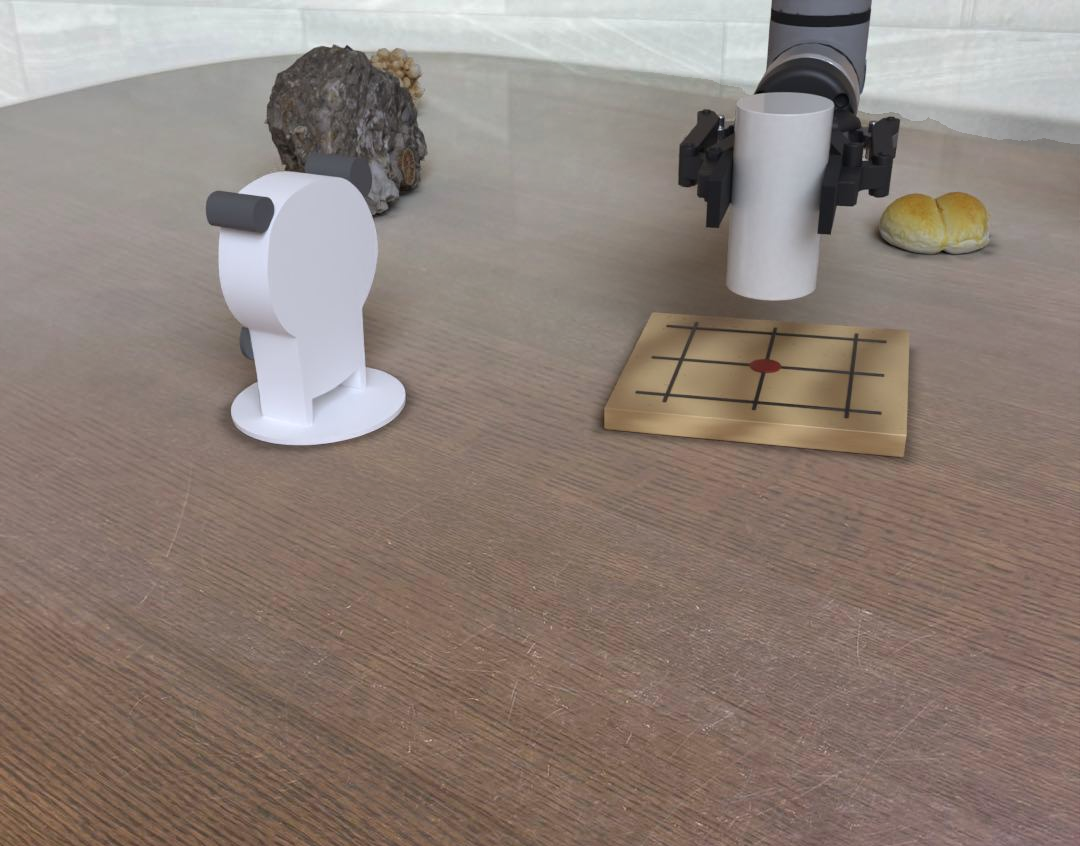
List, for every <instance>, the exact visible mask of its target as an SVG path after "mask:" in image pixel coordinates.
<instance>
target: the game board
mask: <svg viewBox="0 0 1080 846" xmlns="http://www.w3.org/2000/svg"><path fill="white" fill-rule="evenodd" d="M910 337H911V330H907V329H906V330H905V329H893V328H882V327H881V328H880V327H866V326H853V325H837V324H826V323H825V324H823V323H821V324H820V323H812V322H811V323H810V322H795V321H783V320H782V321H779V320H769V319H768V320H767V319H752V318H738V317H724V316H711V315H697V314H695V315H694V314H682V313H681V314H680V313H669V312H667V313H666V312H655V311H654V312H651V313H650V316H649V318H648V319H647V322H646V324H645V325H644V328H643V329H642V332H641V334H640V336H639V337H638V338H639V339H638V340H637V341H636V343H635V345H634V347H633V350H632V352H631V354H630V355H629V358H628V360H627V361H626V364H625V366H624V368H623V370H622V372H621V374H620V375H619V378H618V380H617V382H616V384H615V387H614V388H613V390H612V392H611V394H610V396H609V398H608V400H607V401H606V404H605V405H604V407H603V412H604V413H603V428H604V430H609V431H619V432H631V433H639V434H641V433H642V434H652V435H660V436H661V435H662V436H673V437H682V438H693V439H694V438H695V439H705V440H714V441H715V440H716V441H726V442H737V443H746V444H758V445H766V446H767V445H768V446H769V445H770V446H778V447H789V448H800V449H809V450H821V451H831V452H840V453H841V452H842V453H853V454H862V455H874V456H884V457H885V456H886V457H893V458H895V457H896V458H904V456H905V450H906V443H907V437H908V408H909V407H908V405H909V374H910V373H909V372H910V371H909V370H910V368H909V366H910V342H911V341H910V340H911V339H910Z"/></svg>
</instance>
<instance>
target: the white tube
mask: <svg viewBox="0 0 1080 846" xmlns="http://www.w3.org/2000/svg"><path fill="white" fill-rule="evenodd" d="M833 113H834V103H833V101H831V100H830V99H827V98H825V97H822V96H818V95H812V94H805V93H792V92H774V93H762V94H755V95H753V94H750V95H747V96H743V97H741V98H739V99H737V100H736V103H735V114H734V116H735V117H734V121H735V129H734V147H733V165H732V183H731V200H730V204H729V216H728V217H729V219H728V220H729V221H728V236H727V237H728V239H727V256H726V271H725V272H726V273H725V285H726V287H727V289H728V290H729V291H731V292H732V293H733V294H736V295H738V296H741V297H743V298H747V299H752V300H757V301H758V300H759V301H771V302H773V301H774V302H777V301H790V300H797V299H801V298H804V297H806V296H809V295H811V294H812V293H813V292H814V291H815V290H816V289H817V283H818V272H819V264H820V263H819V262H820V252H821V242H822V234H817V231H818V221H819V211H820V201H821V191H822V184H823V180H824V176H825V172H826V168H827V164H828V161H829V153H830V143H831V133H832V123H833Z"/></svg>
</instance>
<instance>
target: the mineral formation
mask: <svg viewBox="0 0 1080 846" xmlns="http://www.w3.org/2000/svg"><path fill="white" fill-rule="evenodd" d="M369 62H370V63H371V64H372V65H373V66H375V67H376V69H377V70H386V71H388V72H391V73H393V75H394V76H395V77H398V78H399V81H400V87H407V89H408V91H409V92H410V94H411V96H412V100H413V104H414V105H415V107H416V110H417V111H418V107H419V103H420V101H419V100H420V99H421V98H422V97H423V96H424V93H425V92H426V88H425V85H422V84H421V83H420V82H419V78H422V77H423V73H424V72H423V71H422V69H421V66H420V65H419V61H418V59H417V58H416V57H410V56H408V54H407V51H406V50H405V49H404V48H399V47H395V49H392V51H391V52H390V50H389V49H387V48H385V47H384V48H383V47H382V48H378V50H377V51H376V54H373V53H371V57H370V59H369Z"/></svg>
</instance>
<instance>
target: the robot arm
mask: <svg viewBox="0 0 1080 846" xmlns="http://www.w3.org/2000/svg"><path fill="white" fill-rule="evenodd" d="M872 4H873V0H771V6H770V18H769V25H768V43H767V55H766V66H765V72H764V74H763V75H762V77H761V79H760V81H759V82H758V84H757V86H756V89H755V91H754V93H753V94H752V95H755V94H762V93H774V92H792V93H805V94H812V95H818V96H822V97H825V98H827V99H830V100H831V101H833V103H834V113H833V123H832V133H831V143H830V153H829V161H828V164H827V168H826V172H825V176H824V180H823V184H822V191H821V201H820V211H819V221H818V231H817V234H821V235H829V236H831V235H832V231H833V226H834V221H835V217H836V211H837V208H838V207H851V208H852V207H855V206H856V205H857V203H858V197H859V193H860V192H861V191H866V190H867V192H868V195H869V196H871V197H874V198H878V199H881V198H885V197H888V196H889V195H890V189H891V181H892V172H893V165H894V159H896V156H897V149H898V141H899V140H898V139H899V135H900V134H899V133H900V126H901V119H900V118H898V117H895V116H891V115H890V116H889V115H888V116H887V117H882V118H881V119H879V120H870V121H869V122H868V126H862V121H861V119H860V117H858V112H859V111H858V110H859V107H860V101H861V95H862V94H863V92H864V89H865V83H866V77H867V67H868V61H867V59H866V58H867V52H868V51H867V50H868V41H869V33H870V25H871V24H870V22H871V17H872V15H871V13H872ZM725 119H726V116H725V115H724V114H717V112H715V111H714V110H711V109H708V108H704V109H702V110H699V111H697V115H696V124H695V125H694V126H693V127H692V129H691V130H690V132H689V133H688V134H687V135H686V136H685V138H683V140H682V141H681V142H680V144H679V149H678V150H679V151H678V171H677V172H678V173H677V174H678V175H677V176H678V178H677V180H678V181H677V186H679V187H681V188H692V187H696V196H697V198H698V199H703V201H704V202H705V203H706V214H705V215H706V218H705V228H710V229H719V228H720V227H721V225H722V222H723V220H724V218H725V216H726V214H727V211H728V210H729V209H728V208H730V200H731V183H732V165H733V147H734V129H735V120H725ZM864 150H865V154H864ZM863 156H864V159H866V160H863Z"/></svg>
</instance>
